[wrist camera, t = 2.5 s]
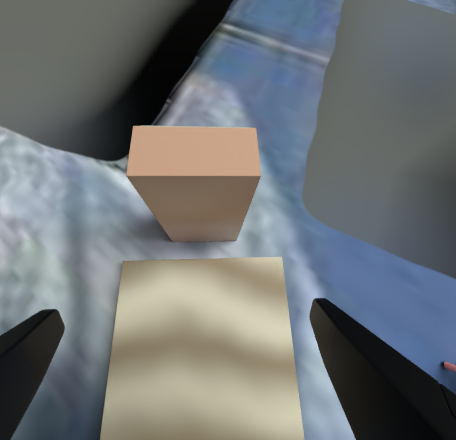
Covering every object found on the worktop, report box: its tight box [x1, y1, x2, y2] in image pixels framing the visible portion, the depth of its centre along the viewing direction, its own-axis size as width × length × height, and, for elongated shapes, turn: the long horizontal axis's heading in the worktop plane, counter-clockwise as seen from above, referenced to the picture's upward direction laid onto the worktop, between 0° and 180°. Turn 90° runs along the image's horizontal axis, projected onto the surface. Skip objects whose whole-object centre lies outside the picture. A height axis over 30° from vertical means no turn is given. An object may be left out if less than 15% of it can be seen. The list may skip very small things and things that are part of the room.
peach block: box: [126, 126, 261, 242], centre depth 17 cm, size 3×6×12 cm, turn 92°
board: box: [100, 257, 304, 440], centre depth 18 cm, size 16×15×1 cm
